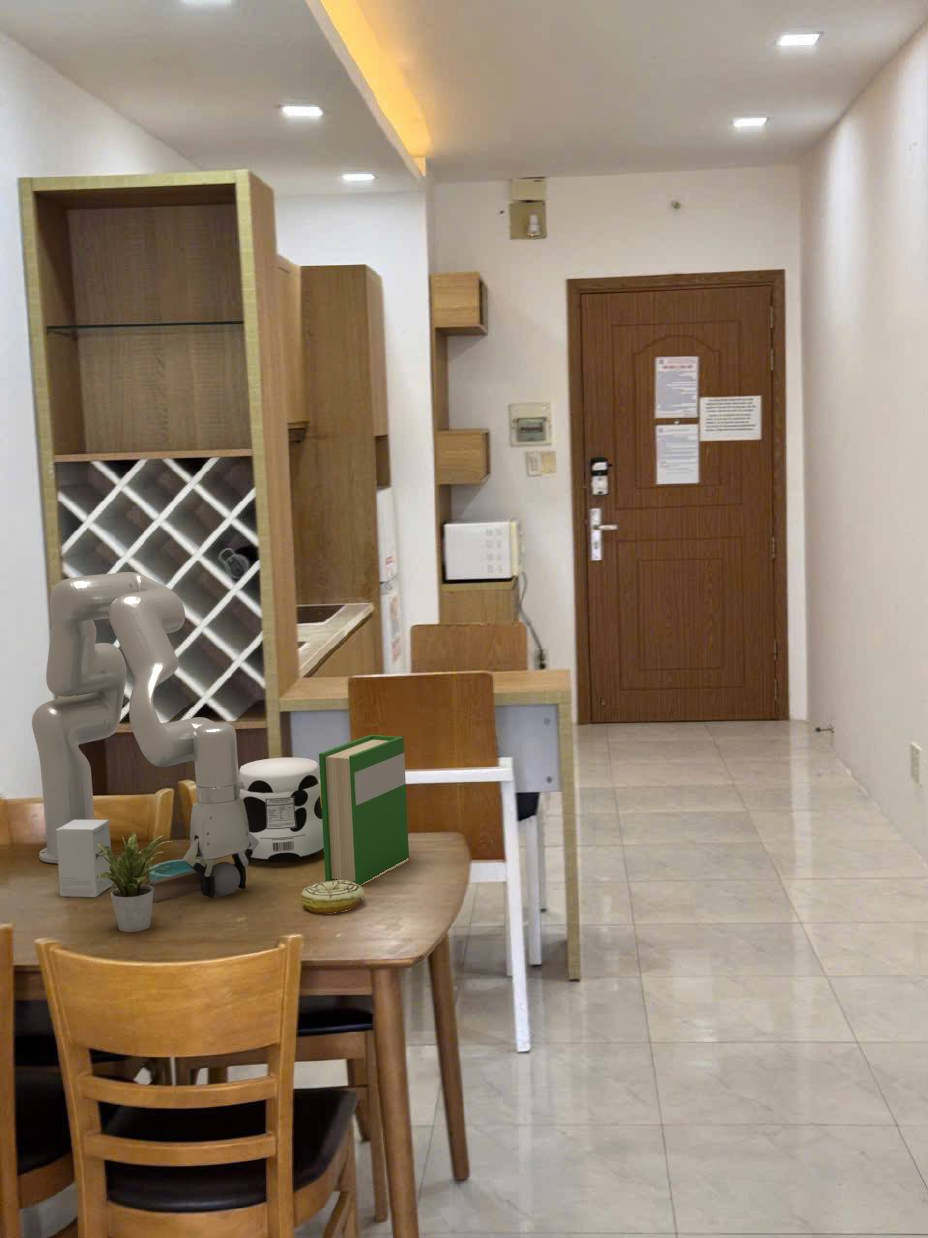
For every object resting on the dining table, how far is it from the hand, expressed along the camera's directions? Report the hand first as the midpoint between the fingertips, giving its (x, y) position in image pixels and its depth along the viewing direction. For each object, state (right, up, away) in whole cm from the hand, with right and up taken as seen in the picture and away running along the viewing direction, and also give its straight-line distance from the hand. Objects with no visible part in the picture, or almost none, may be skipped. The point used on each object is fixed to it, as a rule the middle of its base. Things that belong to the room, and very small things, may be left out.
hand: (224, 890), depth 259 cm
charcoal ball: (0, +2, 0) cm, 2 cm away
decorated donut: (+20, -1, -8) cm, 22 cm away
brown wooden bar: (-7, -1, +3) cm, 7 cm away
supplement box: (-26, -1, +6) cm, 27 cm away
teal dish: (-10, 0, +11) cm, 15 cm away
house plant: (-11, -3, -16) cm, 20 cm away
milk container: (+8, +2, +24) cm, 25 cm away
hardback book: (+25, +1, +11) cm, 28 cm away
